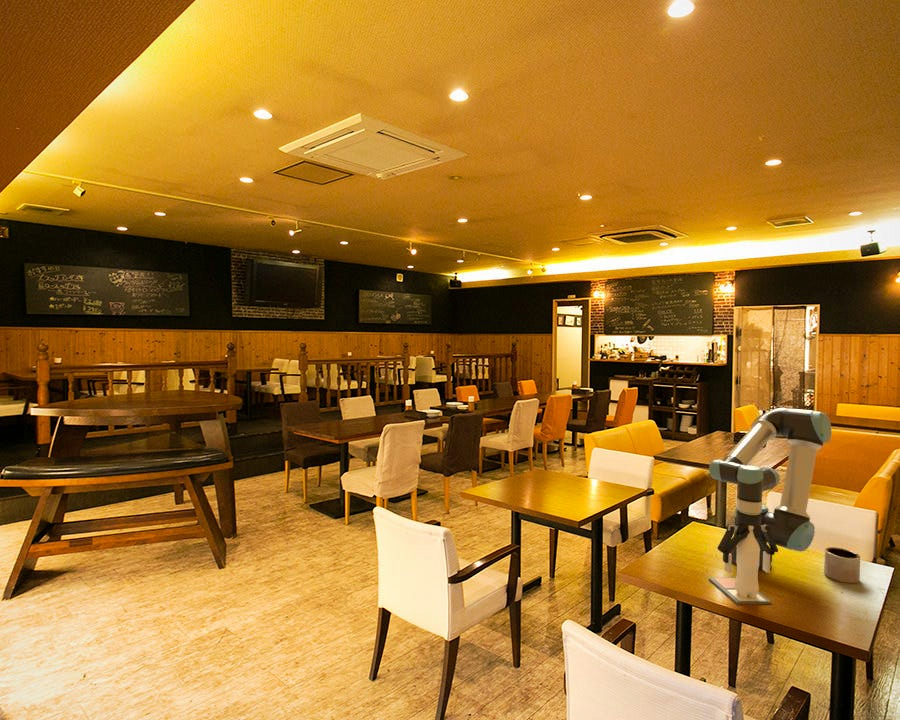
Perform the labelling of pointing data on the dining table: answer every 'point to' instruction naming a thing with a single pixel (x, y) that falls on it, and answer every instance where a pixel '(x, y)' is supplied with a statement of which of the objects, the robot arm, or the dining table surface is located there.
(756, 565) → the water bottle
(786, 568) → the dining table surface
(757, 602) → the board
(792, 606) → the dining table surface
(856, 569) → the planter
